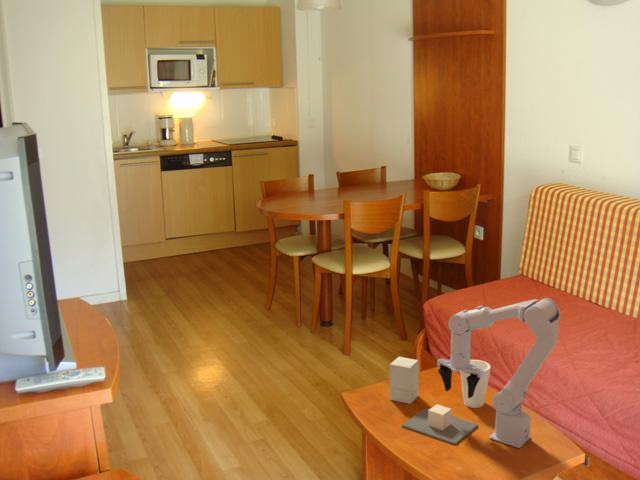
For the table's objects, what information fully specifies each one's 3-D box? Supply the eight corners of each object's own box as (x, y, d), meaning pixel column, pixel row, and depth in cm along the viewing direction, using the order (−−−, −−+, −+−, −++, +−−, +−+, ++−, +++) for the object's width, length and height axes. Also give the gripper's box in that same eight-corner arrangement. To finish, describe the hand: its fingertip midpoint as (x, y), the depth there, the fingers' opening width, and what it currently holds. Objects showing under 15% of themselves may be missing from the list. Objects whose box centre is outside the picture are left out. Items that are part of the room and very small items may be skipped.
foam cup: (452, 401, 237) (453, 364, 234) (473, 394, 242) (474, 357, 239) (474, 412, 229) (475, 374, 226) (495, 404, 234) (496, 367, 231)
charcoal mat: (477, 426, 221) (477, 424, 221) (455, 445, 210) (455, 443, 210) (425, 409, 232) (425, 407, 232) (401, 426, 221) (401, 424, 221)
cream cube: (451, 424, 221) (451, 408, 220) (442, 430, 217) (442, 415, 216) (436, 419, 224) (437, 404, 223) (428, 425, 221) (428, 410, 219)
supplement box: (419, 395, 242) (419, 360, 239) (409, 404, 235) (410, 368, 232) (398, 391, 245) (398, 355, 242) (389, 399, 239) (389, 363, 236)
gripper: (432, 349, 220) (431, 391, 223) (476, 361, 211) (474, 404, 214) (444, 342, 225) (443, 383, 228) (487, 353, 216) (485, 396, 219)
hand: (459, 393), depth 222 cm, fingers open, 7 cm apart
